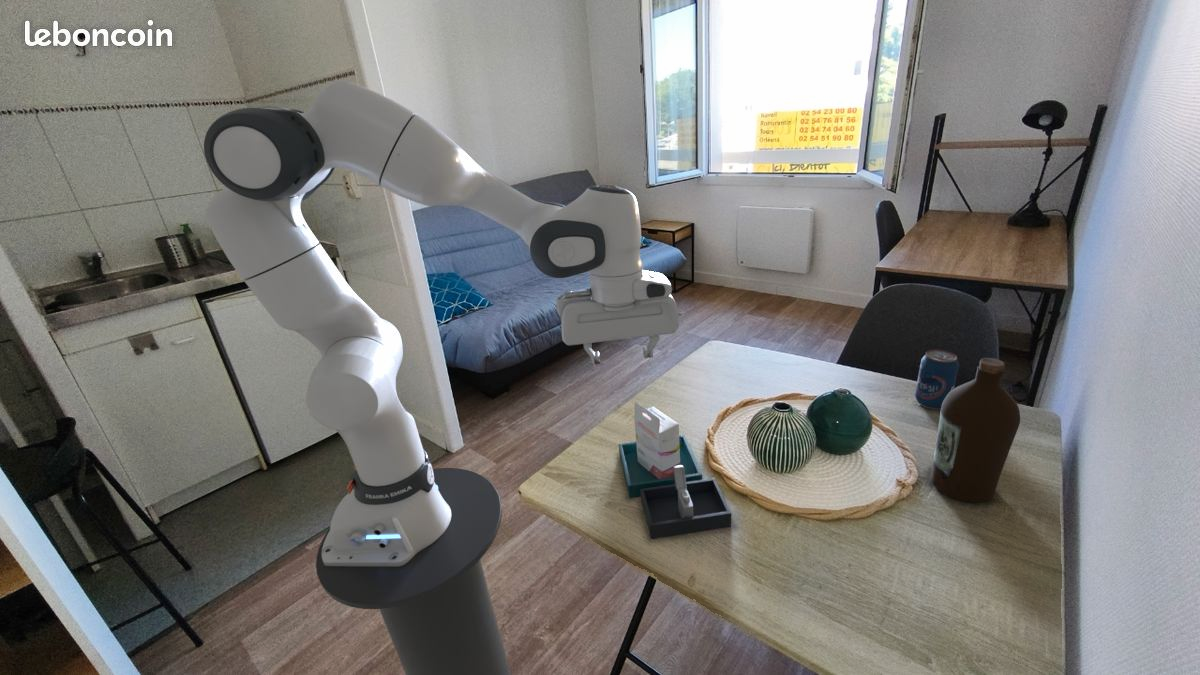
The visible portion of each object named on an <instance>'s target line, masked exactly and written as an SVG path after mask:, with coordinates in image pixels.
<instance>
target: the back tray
mask: <svg viewBox="0 0 1200 675" xmlns="http://www.w3.org/2000/svg"><path fill="white" fill-rule="evenodd" d="M679 445H680V465H682V466H683V467H684V470H685V478H686V482H692V481H698V480H703V473H702V471H701V469H700V466H699V465H698V462H697V459H696V458H695V454H694V453H693V451H692V449H691V447H690V444H689V442H688V440H687V437H686V435H685V434H679ZM618 453H619V459H620V463H621V468H622V472H623V477H624V481H625V485H626V486H625V487H626V490H627V495H628V498H629V499H636V498H641V496H640V489H644V488H651V487H658V486H665V485H671V484H675V478H674V477H671V478H664V479H658V478H656V477H655V476H654V475H653V474H652V473H650V472H649V471H648V470H647V469H646V468H644V467H643V466H642V465H641V464H640V463H638V457H637V444H636V441H630V442H624V443H623V442H622V443H618Z"/></svg>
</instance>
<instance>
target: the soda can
mask: <svg viewBox="0 0 1200 675" xmlns="http://www.w3.org/2000/svg"><path fill="white" fill-rule="evenodd" d="M959 368H960V363H959V361H958V356H957V355H956V354H955V353H953V352H950V351H948V350H945V349H930V350H927V351H926V352H925V354H924V355H923V357H922V358H921V360H920V365H919V370H918V375H917V379H916V380H917V381H916V386H915V392H914V397H915V399H916V401H917V403H918V404H919V405H920V406H921V407H923V408H927V409H930V410H941V406H942V403H943V401H944V399H945V398H946V396H947V395H948V393H949V392H950V391H952V390H953V389H954V388H955V386H956V380H957V377H958V372H959Z"/></svg>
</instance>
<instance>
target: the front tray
mask: <svg viewBox="0 0 1200 675" xmlns="http://www.w3.org/2000/svg"><path fill="white" fill-rule="evenodd" d="M686 485H687V489H686V490H687V491H688V493H689V496H690V498H691V501H692V504H693V517H688V518H682V519H681V516H680V513H679V510H678V490H677V489H676V485H675V484H671V485H665V486H658V487H651V488H644V489H640V496H641V497H640V504H641V507H642V511H643V516H644V519H645V523H646V527H647V531H648V536H649V539H650V540H655V539H656V540H657V539H663V538H668V537H676V536H682V535H689V534H695V533H700V532H701V533H702V532H707V531H714V530H719V529H727V528H732V511H731V509H730V508H729V505H728V503H727V501H726V499H725V497H724V494H723V492H722V490H721V488H720V485H719V484H718V482H717V480H716V478H715V477H712V478H706V479H702V480H698V481H692V482H686Z"/></svg>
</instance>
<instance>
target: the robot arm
mask: <svg viewBox="0 0 1200 675" xmlns="http://www.w3.org/2000/svg"><path fill="white" fill-rule="evenodd" d="M203 152H204V157H205V160H206V163H207V165H208V168H209V170H210V171H211V172H212V174H213V175H214V177H215V178H216V179H217V180H218V181H219V182H220V184H222V185H223V186H224V188H222V189H221V190H220V191H218V192H217V193H215V194H214V196H213V197H212V198H211V199H210V200H209V202H208V203H207V205H206V208H205V218H206V221H207V223H208V225H209V227H210V230H211V232H212V233H213V235H214V237H215V240H216V241H217V243H218V245H219V247H220V248H221V250H222V251H223V253H224V255H225V257H226V258H227V260H228V261H229V262H230V264H231V266H232V267H233V268H234V270H235V271H236V273H237V274H238V275H239V277H240V278H241V279H242V280H243V282H244V283H245V284H246V285H247V287H248V288H249V290H250V291H251V293H253V295H254V297H256V299H257V300H258V301H259V302H260V304H261V305H262V306H263V307H264V308H265V310H266V311H267V313H268V314H269V315H270V317H272V319H273V320H274V322H275V323H276V324H277V325H278V326H279V327H281V328H283V329H285V330H288V331H294V332H296V333H298V334H299V335H301V336H302V337H303V338H304V339H306V340H307V341H308V342H310V343H311V344H312V345H313V346H314V347H315V348H316V349H317V350H318V351H319V352H320V354H321V359H320V360H319V362H318V363H317V364H316V366H315V367H314V369H313V370H312V372H311V374H310V376H309V381H308V386H307V390H306V396H305V403H306V407H307V410H308V412H309V413H310V415H311V416H312V418H313V419H314V420H315V421H316V422H318V423H319V424H321V425H322V426H324V427H327V428H329V429H332V430H336V432H337V433H338V434H339V435H340V437H341V438H342V440H343V441H344V443H345V445H346V447H347V450H348V453H349V455H350V458H351V459H352V462H353V469H354V471H353V472H352V474H351V476H350V478H349V483H348V485H347V487H346V491H348V493H346V495H344V497H343V498H341V501H340V502H339V503H338V505H337V506H336V508H335V510H334V513H333V514H332V518H331V521H330V527H329V528H330V531H329V533H328V535H327V537H326V539H325V541H324V544H323V548H322V560H323V563H324V565H325V566H375V567H399V566H403V565H404V564H406V563H407V562H408V561H409V560H410V559H411V558H412V557H413V556H414V555H415V554H416V553H418V552H419V551H421V550H422V549H424V548H426V547H427V546H429V545H431V544H432V543H433V542H435V541H436V540H437V539H438V538H439V537H440V536H441V535H442V534H443V533H444V532H445V530H446V529H447V527H448V525H449V523H450V521H451V509H450V507H449V505H448V504H447V503H446V502H445V500H444V499H443V498H442V496H441V494H440V492H439V491H438V486H437V485H436V484H435V482H434V473H433V469H434V468H433V466H432V463H431V462H430V461H431V460H430V459H429V458H430V457H429V455H428V453H427V451H426V450H425V449H424V447H423V444H422V441H421V440H422V439H421V437H420V434H419V430H418V427H417V423H416V420H415V418H414V416H413V415H412V414H411V413H409V412H408V411H406V409H405V407H404V406H403V405H402V402H401V401H400V399H399V396H398V393H397V375H398V372H399V370H400V367H401V364H402V362H403V358H404V344H403V340H402V336H401V333H400V331H399V330H398V329H397V327H396V326H395V325H394V324H392V322H390V321H388V320H386V319H384V318H381V317H380V316H379V315H378V314H377V313H376V312H375V311H374V310H373V309H372V308H371V307H370V306H369V305H368V304H367V303H366V302H365V301H364V300H363V299H362V298H361V297H360V296H359V295H358V294H357V293H356V292H355V291H354V290H353V288H352V287H351V286H350V284H348V282H347V281H346V279H345V277H344V276H343V274H342V273H341V272H340V271H339V269H338V268H337V266H336V265H335V263H334V261H333V260H332V259H331V257H330V255H329V254H328V252H326V250H325V248H324V247H323V246H322V244H321V243H320V241H319V240H318V238H317V237H316V235H315V234H314V232H312V230H311V227H310V226H309V225H308V223H307V222H306V220H305V218H304V216H303V213H302V210H301V203H302V201H305V200H307V199H309V198H310V197H311V196H312V195H313V194H314V193H315V192H316V191H317V190H318V189H319V188H320V187H321V186H322V185H323V184H325V183H326V182H327V181H328V179H329V178H330V177H331V176H332V174H333V172H334V171H335V169H336V168H339V169H341V168H342V169H345V170H348V171H351V172H354V173H356V174H358V175H360V176H362V177H364V178H366V179H367V180H369V181H370V182H373V183H375V184H376V185H378V186H379V187H382V188H383V189H385V190H387V191H388V192H391V193H393V194H395V195H397V196H399V197H401V198H403V199H406V200H408V201H412V202H415V203H417V204H420V205H423V206H426V207H442V206H443V207H444V206H455V207H457V206H458V207H463V208H467V209H470V210H472V211H475V212H477V213H479V214H481V215H483V216H484V217H486V218H488V219H490V220H492V221H494V222H496V223H498V224H500V225H502V226H503V227H505V228H507V229H509V230H510V231H513V232H514V233H516V235H517V236H519V237H520V238H521V239H522V241H523V242H524V243H525V245H526V246H527V248H528V252H529V255H530V258H531V261H532V263H533V264H534V266H535V267H536V269H538V270H539V271H540V272H541V273H542V274H543V275H546V276H548V277H550V278H555V279H565V278H570V277H574V276H577V275H580V274H584V273H587V272H588V273H589V285H590V288H582V289H577V290H567V291H563V293H561V294H560V295H559V296H558V297H557V298H556V301H555V306H556V313H557V315H558V316H559V317H561V318H560V319H561V322H560V323H561V324H560V326H561V328H560V329H561V340H562V342H563V343H564V344H565V345H566V346H577V345H583V349H584V350H585V352H586V353H587V354H588V356H589V357H590V361H591V362H590V363H591V365H592V366H593V365H601V360H600V358H601V356H600V352H599V351H594V349H592V348H593V344H595V343H603V342H612V341H619V340H627V339H636V338H644V337H648V338H649V341H648V343H647V345H643V346H642V356H643V358H644V359H652V358H653V359H654V349H655V347H656V346H657V344H658V343H659V341H660V336H662V335H663V336H664V335H672V334H675V333H676V332H677V331H678V330H679V328H680V317H679V309H678V305H677V302H676V300H675V299H674V297H673V295H672V292H673V290H672V289H673V288H672V284H671V282H670V280H669V279H668V278H667V276H665V275H664V274H663V273H660V272H656V271H655V272H654V271H651V270H650V271H649V270H645V269H644V267H643V266H644V265H643V262H642V259H641V246H642V226H641V217H640V211H639V205H638V201H637V198H636V196H635V195H634V194H633V193H632V192H631V191H630V190H628V189H626V188H623V187H620V186H615V185H605V184H596V185H591V186H588V187H587V188H586V189H585V191H584V192H583V193H581V194H580V195H579V196H578V197H577V198H576V199H574V200H573V201H572V202H570V203H568V204H567V205H565V204H563V203H559V202H555V201H546V200H545V201H544V200H538V199H535V198H532V197H530V196H528V195H527V194H525V193H523V192H521V191H520V190H518V189H517V188H514V187H513V186H511V185H509V184H508V183H507V182H505V181H503V180H501V179H499V178H498V177H496V176H494V175H493V174H491V173H490V172H489V171H487V170H485V169H484V167H482V166H481V165H480V164H479V163H478V162H476V161H475V160H474V159H473V157H471V156H470V155H469V154H468V153H467V152H466V151H465V150H464V149H463V148H462V147H461V146H459V144H458V143H456V142H455V141H454V140H453V139H452V138H450V137H449V136H448V135H447V134H446V133H445V132H443V131H442V130H440V129H439V128H438V127H436V126H435V124H433V123H431V122H430V121H428V120H427V119H426V118H424V117H422V116H421V115H419V114H417V113H416V112H414V111H413V110H411V109H409V108H408V107H405V105H402V104H400V103H398V102H396V101H395V100H393V99H391V98H390V97H387V96H386V95H383V94H381V93H379V92H376V91H374V90H372V89H370V88H368V87H365V86H362V85H360V84H357V83H355V82H352V81H348V80H335V81H332V82H330V83H329V84H327V85H325V86H324V87H322V88H321V89H320V91H319V92H318V93H317V94H316V96H315V97H314V99H313V101H312V103H311V105H310V107H308V109H307V110H305V111H302V110H298V109H292V108H285V107H281V106H275V105H268V106H267V105H266V106H265V105H264V106H259V107H243V108H237V109H234V110H231V111H228V112H226V113H224V114H223V115H220V116H219V117H218V118H217V119H216V120H214V121H213V122H212V123H211V125H210V126H209V127H208V130H207V131H206V133H205V137H204V140H203Z"/></svg>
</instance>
